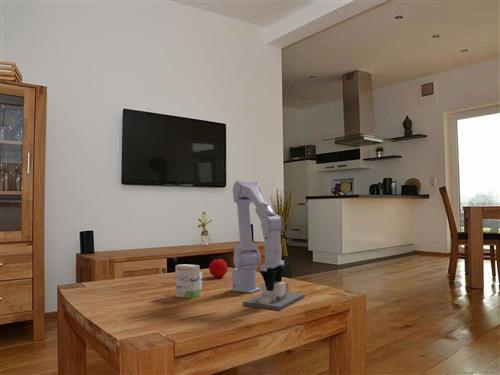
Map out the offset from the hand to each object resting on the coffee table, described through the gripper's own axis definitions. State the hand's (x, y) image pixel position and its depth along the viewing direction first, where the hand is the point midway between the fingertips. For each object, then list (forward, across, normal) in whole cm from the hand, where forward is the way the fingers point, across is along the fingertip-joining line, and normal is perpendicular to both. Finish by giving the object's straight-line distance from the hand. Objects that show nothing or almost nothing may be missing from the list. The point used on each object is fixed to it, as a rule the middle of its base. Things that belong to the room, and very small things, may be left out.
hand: (273, 289), depth 129 cm
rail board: (+4, +1, 0) cm, 5 cm away
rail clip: (+2, +8, 0) cm, 8 cm away
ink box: (+5, -7, +33) cm, 34 cm away
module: (+3, 0, 0) cm, 3 cm away
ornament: (+5, +31, +46) cm, 56 cm away
